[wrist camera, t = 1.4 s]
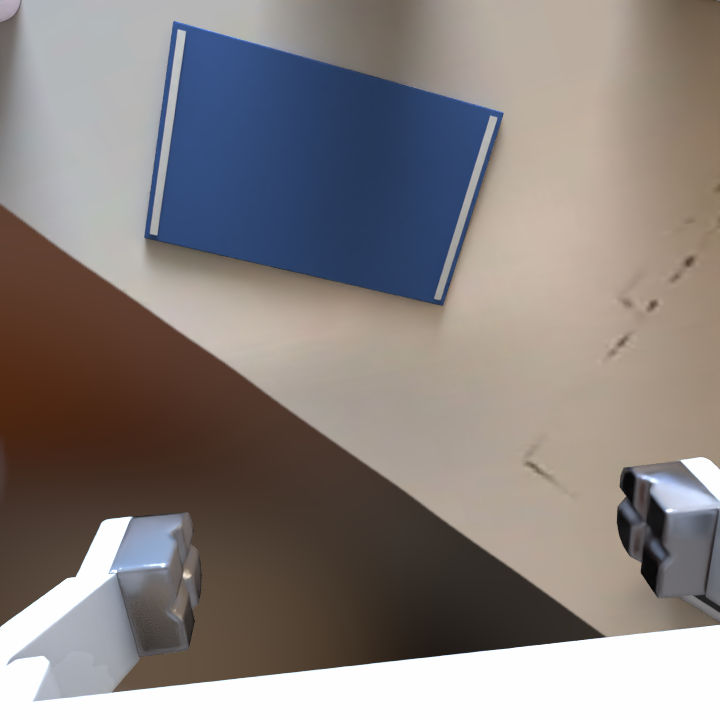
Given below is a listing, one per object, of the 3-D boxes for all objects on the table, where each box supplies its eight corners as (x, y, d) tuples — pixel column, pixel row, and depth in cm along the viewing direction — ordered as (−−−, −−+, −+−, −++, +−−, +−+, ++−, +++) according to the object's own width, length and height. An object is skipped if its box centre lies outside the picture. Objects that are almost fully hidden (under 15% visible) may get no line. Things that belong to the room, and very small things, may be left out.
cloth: (174, 21, 42) (172, 20, 42) (502, 112, 46) (504, 112, 45) (145, 236, 47) (143, 238, 47) (442, 304, 51) (443, 306, 50)
